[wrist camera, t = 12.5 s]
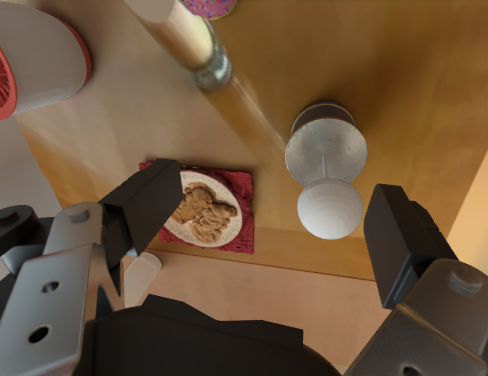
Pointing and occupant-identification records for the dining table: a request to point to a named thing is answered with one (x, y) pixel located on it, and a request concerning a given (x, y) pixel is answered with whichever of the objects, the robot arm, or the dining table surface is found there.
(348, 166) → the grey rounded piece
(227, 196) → the plate with food
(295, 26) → the dining table surface
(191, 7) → the cupcake
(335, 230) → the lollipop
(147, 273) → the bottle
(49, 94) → the citrus juicer
